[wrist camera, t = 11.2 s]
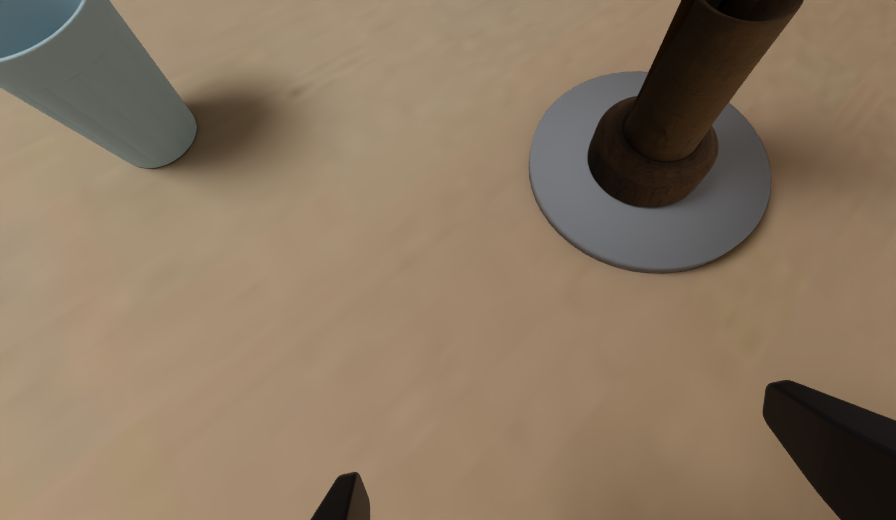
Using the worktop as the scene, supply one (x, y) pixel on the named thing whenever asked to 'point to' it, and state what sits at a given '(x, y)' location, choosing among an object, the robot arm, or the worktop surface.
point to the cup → (93, 78)
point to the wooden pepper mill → (683, 100)
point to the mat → (644, 228)
